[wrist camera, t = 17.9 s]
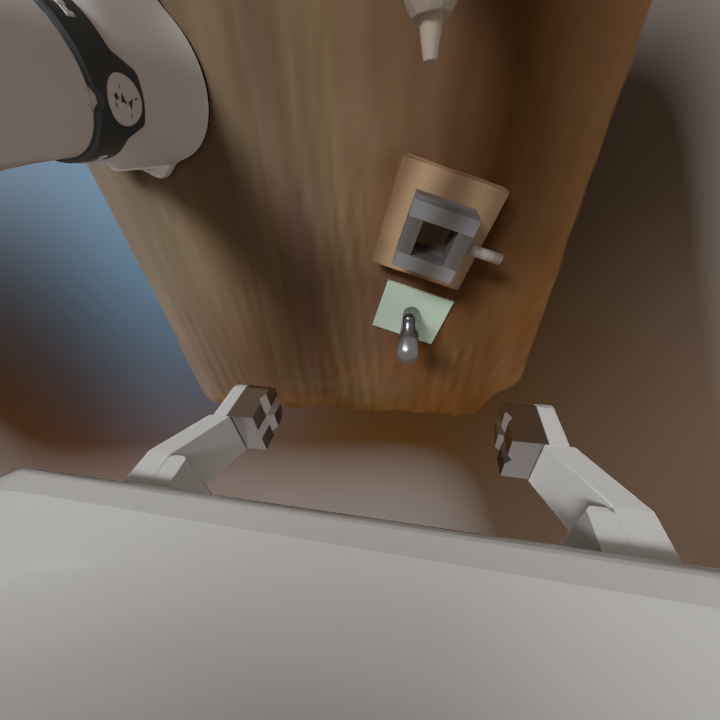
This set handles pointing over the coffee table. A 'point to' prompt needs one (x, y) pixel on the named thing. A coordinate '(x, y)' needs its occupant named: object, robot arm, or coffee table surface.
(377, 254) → the block
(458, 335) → the coffee table surface
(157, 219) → the coffee table surface
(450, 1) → the power drill
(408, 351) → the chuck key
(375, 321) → the mat
